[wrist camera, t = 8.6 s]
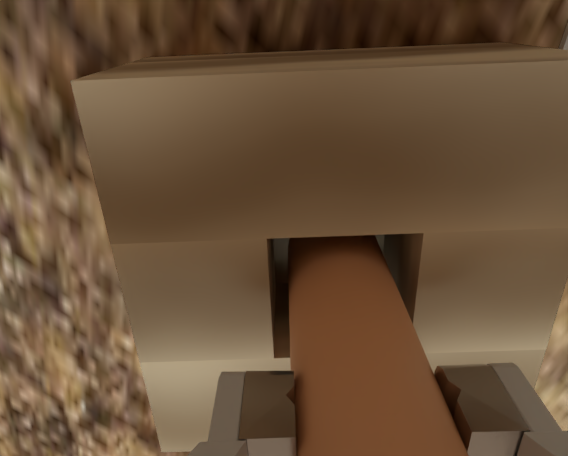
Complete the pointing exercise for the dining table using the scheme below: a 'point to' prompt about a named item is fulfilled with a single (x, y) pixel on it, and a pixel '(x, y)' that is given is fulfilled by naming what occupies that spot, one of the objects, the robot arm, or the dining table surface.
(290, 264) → the dowel pin
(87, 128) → the bore block
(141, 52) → the dining table surface
